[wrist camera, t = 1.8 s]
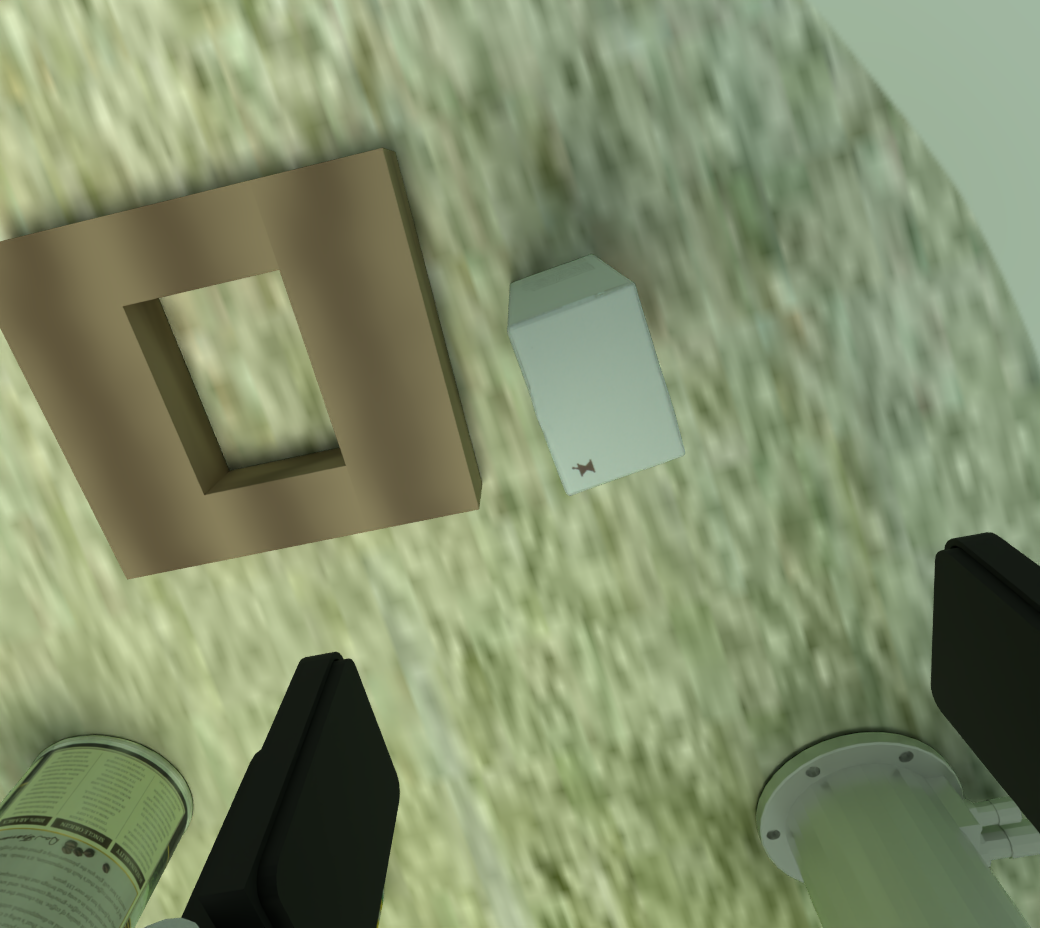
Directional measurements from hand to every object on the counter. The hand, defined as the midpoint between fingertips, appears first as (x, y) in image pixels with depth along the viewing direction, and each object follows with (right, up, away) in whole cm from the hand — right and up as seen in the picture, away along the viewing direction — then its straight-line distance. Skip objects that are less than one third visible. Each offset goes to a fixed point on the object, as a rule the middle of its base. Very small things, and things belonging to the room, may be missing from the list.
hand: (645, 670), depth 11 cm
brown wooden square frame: (-14, +8, +22) cm, 27 cm away
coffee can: (-28, -18, +32) cm, 46 cm away
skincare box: (0, +10, +21) cm, 24 cm away
